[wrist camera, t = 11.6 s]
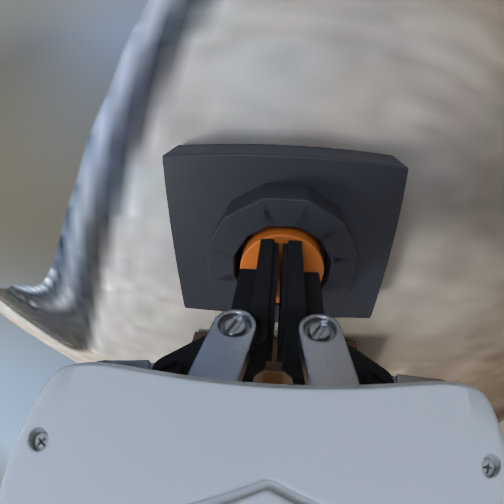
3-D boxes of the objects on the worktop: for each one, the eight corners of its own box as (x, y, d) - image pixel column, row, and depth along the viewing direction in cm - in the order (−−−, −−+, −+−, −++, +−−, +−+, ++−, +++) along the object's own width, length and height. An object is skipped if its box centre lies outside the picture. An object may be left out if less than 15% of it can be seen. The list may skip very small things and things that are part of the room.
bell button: (324, 218, 13) (329, 237, 11) (315, 282, 15) (318, 305, 13) (243, 214, 13) (238, 232, 12) (245, 278, 15) (240, 301, 14)
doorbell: (393, 155, 13) (425, 181, 10) (364, 294, 18) (376, 341, 15) (177, 145, 14) (144, 167, 11) (193, 285, 19) (175, 329, 16)
